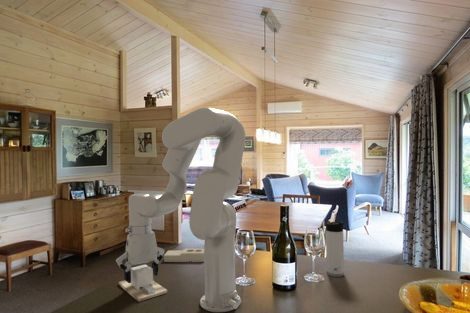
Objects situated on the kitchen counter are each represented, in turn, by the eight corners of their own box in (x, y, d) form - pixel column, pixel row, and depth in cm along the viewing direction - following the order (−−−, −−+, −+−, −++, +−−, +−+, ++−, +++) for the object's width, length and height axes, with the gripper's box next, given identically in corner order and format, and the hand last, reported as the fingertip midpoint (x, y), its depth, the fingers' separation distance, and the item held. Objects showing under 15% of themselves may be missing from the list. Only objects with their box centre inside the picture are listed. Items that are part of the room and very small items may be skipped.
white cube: (153, 285, 113) (152, 268, 113) (138, 290, 110) (137, 272, 110) (145, 280, 118) (145, 264, 118) (130, 284, 115) (130, 267, 115)
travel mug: (339, 278, 119) (338, 224, 119) (323, 273, 124) (322, 221, 124) (347, 274, 123) (347, 221, 123) (332, 269, 128) (331, 219, 128)
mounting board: (167, 292, 110) (167, 289, 110) (138, 301, 104) (138, 298, 104) (144, 277, 124) (144, 274, 124) (118, 284, 118) (118, 282, 118)
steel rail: (155, 292, 108) (155, 289, 108) (148, 294, 107) (148, 291, 107) (136, 278, 121) (136, 275, 121) (129, 280, 119) (129, 277, 119)
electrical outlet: (168, 248, 149) (207, 248, 148) (168, 257, 149) (207, 257, 148) (163, 253, 142) (205, 253, 141) (164, 262, 142) (205, 262, 141)
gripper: (119, 235, 105) (121, 288, 105) (168, 227, 116) (169, 274, 116) (111, 231, 111) (113, 281, 111) (158, 223, 122) (159, 269, 122)
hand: (141, 278), depth 114 cm, fingers open, 9 cm apart
